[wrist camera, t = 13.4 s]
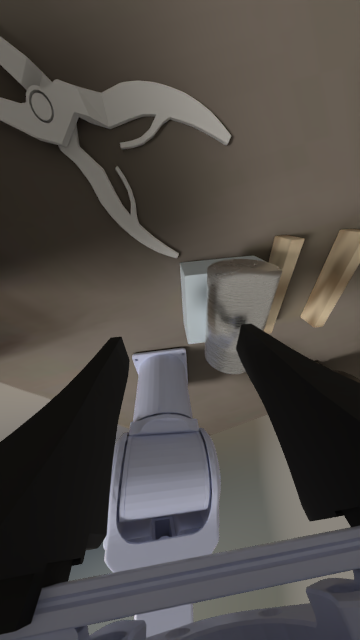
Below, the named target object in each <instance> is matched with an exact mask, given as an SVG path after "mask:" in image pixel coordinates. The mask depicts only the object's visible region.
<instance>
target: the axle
mask: <svg viewBox="0 0 360 640" xmlns="http://www.w3.org/2000/svg"><path fill="white" fill-rule="evenodd" d="M281 274H282V270H281V269H280V268H279V267H278V266H276V265H274V264H272V263H269V262H265V261H260V260H252V259H230V260H223V261H219V262H215V263H213V264H211V265H210V266H209V267H208V269H207V295H206V326H205V357H206V360H207V361H208V363H209V364H210V365H211V366H212V367H213V368H215V369H216V370H218V371H220V372H223V373H227V374H241V373H244V372H246V371H245V369H244V367H243V365H242V363H241V361H240V358H239V356H238V353H237V350H236V346H237V341H238V337H239V332H240V328H241V324H250V323H251V324H253V325H255V326H256V327H258V328H259V329H261V330H263V331H264V329H265V325H266V322H267V319H268V316H269V313H270V310H271V306H272V303H273V300H274V297H275V294H276V290H277V287H278V284H279V281H280V278H281Z"/></svg>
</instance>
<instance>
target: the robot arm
mask: <svg viewBox="0 0 360 640" xmlns="http://www.w3.org/2000/svg"><path fill="white" fill-rule="evenodd" d="M236 350H237V353H238V356H239V358H240V361H241V363H242V365H243V367H244V369H245V371H246V372H247V374H248V376H249V378H250V380H251V382H252V383H253V385H254V387H255V389H256V391H257V392H258V394H259V396H260V398H261V400H262V402H263V404H264V406H265V408H266V411H267V413H268V415H269V417H270V420H271V422H272V425H273V427H274V430H275V432H276V435H277V437H278V440H279V442H280V445H281V447H282V450H283V453H284V455H285V458H286V461H287V463H288V466H289V469H290V472H291V475H292V478H293V481H294V484H295V487H296V489H297V492H298V495H299V499H300V502H301V505H302V507H303V509H304V511H305V513H306V515H307V517H308V519H309V521H315V520H321V519H327V518H332V517H338V516H343V515H344V516H345V518H346V519H347V521H348V523H349V524H350V526H351V527H350V528H345V529H340V530H335V531H329V532H325V533H319V534H314V535H308V536H303V537H298V538H293V539H287V540H282V541H277V542H272V543H267V544H261V545H256V546H252V547H246V548H240V549H235V550H230V551H225V552H219V553H214V554H212V552H213V550H214V548H215V547H216V545H217V544H218V541H219V526H220V525H219V498H220V492H221V479H220V469H219V463H218V458H217V453H216V450H215V446H214V444H213V441H212V439H211V437H210V436H209V435H208V433H207V432H206V431H205V430H204V429H203V428H199V426H198V421H197V419H193V417H192V410H191V404H190V398H189V391H188V374H187V359H186V349H185V348H177V349H169V350H161V351H153V352H145V353H137V354H133V355H132V359H133V362H134V364H135V367H136V370H137V373H138V375H139V377H138V385H137V393H136V402H135V410H134V418H133V422H131V423H130V431H129V433H128V432H127V433H123V434H122V435H121V437H120V438H119V439H118V440H117V442H116V444H115V439H116V431H117V424H118V419H119V414H120V409H121V405H122V401H123V396H124V392H125V387H126V383H127V378H128V371H129V357H128V355H127V352H126V349H125V346H124V343H123V340H122V337H114V338H110V339H109V340H108V341H107V343H106V344H105V345H104V346H103V347H102V348H101V349H100V351H99V352H98V353H97V354H96V355H95V356H94V358H93V359H92V360H91V361H90V362H89V363H88V364H87V365H86V366H85V368H84V369H83V370H82V371H81V372H80V373H79V374H78V375H77V376H76V377H75V378H74V379H73V380H72V381H71V382H70V383H69V384H68V385H67V386H66V387H65V388H64V389H63V390H62V391H61V392H60V393H59V394H58V395H57V396H55V397H54V398H53V399H52V400H51V401H50V402H49V403H48V404H47V405H45V406H44V407H43V408H42V409H41V410H40V411H38V412H37V413H36V414H35V415H34V416H32V417H31V418H30V419H29V420H27V421H26V422H25V423H24V424H23V425H21V426H20V427H19V428H18V429H16V430H15V431H14V432H13V433H12V434H10V435H9V436H8V437H6V438H5V439H4V440H2V441H1V442H0V640H360V383H359V382H357V381H354V380H352V379H350V378H347V377H345V376H343V375H341V374H339V373H337V372H334V371H332V370H330V369H328V368H326V367H324V366H322V365H320V364H318V363H316V362H314V361H313V360H311V359H309V358H307V357H305V356H303V355H302V354H300V353H298V352H296V351H295V350H293V349H291V348H290V347H288V346H286V345H285V344H283V343H281V342H280V341H278V340H277V339H275V338H273V337H272V336H270V335H269V334H267V333H266V332H264V331H263V330H261V329H259V328H258V327H256V326H255V325H253V324H251V323H250V324H241V328H240V332H239V337H238V341H237V346H236ZM103 540H104V542H103ZM102 542H103V547H104V550H105V558H104V560H105V563H106V565H107V566H108V567H109V569H110V570H111V571H112V572H113V573H109V574H104V575H99V576H94V577H88V578H83V579H78V580H73V581H68V579H69V575H70V571H71V566H74V565H79V564H82V563H83V560H84V555H85V551H86V550H91V549H96V548H98V547H99V546H100V545H101V543H102ZM350 570H353V573H354V580H351V579H343V578H328V579H323V580H320V581H318V582H316V583H314V584H312V585H310V586H308V587H307V588H306V593H307V595H308V598H309V601H310V603H309V604H299V605H290V606H282V607H273V608H265V609H255V610H248V611H241V612H235V613H230V614H225V615H220V616H215V617H211V618H208V619H204V620H200V621H197V622H193V603H197V602H201V601H206V600H211V599H216V598H220V597H225V596H230V595H235V594H240V593H244V592H249V591H254V590H259V589H264V588H268V587H273V586H277V585H283V584H287V583H292V582H297V581H301V580H307V579H312V578H316V577H321V576H326V575H330V574H336V573H340V572H345V571H350ZM129 616H134V620H120V621H116V622H113V623H110V624H108V625H106V626H104V627H102V628H101V629H99V630H97V631H96V632H94V633H93V634H91V635H90V636H89V633H88V626H87V625H91V624H96V623H101V622H105V621H110V620H115V619H120V618H125V617H129Z"/></svg>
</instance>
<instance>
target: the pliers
mask: <svg viewBox="0 0 360 640" xmlns="http://www.w3.org/2000/svg"><path fill="white" fill-rule="evenodd" d="M0 65H1V66H2V67H3V68H4V69H5V70H7V71H8V72H9V73H10V74H11V75H12V76H13V77H14V78H15V79H16V80H17V81H18V82H19V83H20V84H21V85H22V86H23V87H24V88H25V89H26V90H27V92H26V102H25V103H18V102H14V101H11V100H8V99H4V98H1V97H0V121H2V122H4V123H6V124H8V125H10V126H12V127H14V128H16V129H18V130H20V131H22V132H24V133H26V134H28V135H30V136H32V137H34V138H36V139H38V140H40V141H44V142H48V143H52V144H56V145H58V146H59V148H60V150H61V151H62V152H63V153H64V154H65V155H66V156H68V157H69V158H70V159H71V160H72V161H73V162H75V163H76V164H77V166H78V167H79V168H80V170H81V171H82V172H83V174H84V175H85V176H86V178H87V179H88V180H89V182H90V184H91V185H92V187H93V189H94V191H95V193H96V195H97V197H98V199H99V200H100V202H101V204H102V205H103V206H104V208H105V209H106V210H107V212H108V213H109V214H110V216H111V217H112V218H113V219H114V220H115V221H116V222H117V223H118V224H119V225H120V226H121V227H122V228H123V229H124V230H125V231H126V232H128V233H129V234H130V235H131V236H132V237H134V238H135V239H136V240H138V241H139V242H140V243H142V244H144V245H145V246H147V247H148V248H150V249H152V250H154V251H156V252H158V253H161V254H164V255H167V256H170V257H174V258H177V257H178V255H179V253H178V252H176V251H174V250H173V249H171V248H170V247H168V246H167V245H165V244H164V243H162V242H161V241H159V240H158V239H157V238H155V237H154V236H153V235H152V234H150V233H149V232H148V231H147V230H146V229H145V228H144V227H142V226H141V225H140V224H139V221H138V218H137V210H136V203H135V199H134V196H133V192H132V190H131V188H130V186H129V184H128V182H127V180H126V178H125V176H124V175H123V173H122V172H121V170H120V169H119V167H118V166H117V167H116V168H115V169H116V171H117V172H118V174H119V176H120V177H121V179H122V181H123V183H124V185H125V187H126V189H127V191H128V194H129V198H130V202H131V215H130V213H129V212H128V211H127V210H126V208H125V207H124V206H123V204H122V203H121V201H120V199H119V197H118V195H117V194H116V192H115V190H114V188H113V186H112V184H111V182H110V180H109V178H108V176H107V174H106V172H105V170H104V169H103V168H102V167H101V166H100V165H99V164H98V163H97V162H96V161H95V160H94V159H92V158H91V157H90V156H89V155H88V154H87V153H86V152H85V151H84V150H83V149H82V148H81V147H80V145H79V138H78V131H77V124H76V123H77V121H78V118H79V117H80V118H82V119H83V120H85V121H87V122H89V123H91V124H95V125H98V126H101V127H104V128H108V129H112V128H115V127H117V126H120V125H122V124H124V123H127V122H129V121H132V120H135V119H138V118H141V117H155V119H154V121H153V123H152V125H151V127H150V129H149V130H148V131H147V132H146V133H145V134H144V135H143V136H141V137H140V138H138V139H135V140H132V141H128V142H121V143H120V146H121V149H130V148H135V147H138V146H141V145H144V144H145V143H146V142H147V141H149V140H150V139H151V138H153V137H154V135H155V134H156V133H157V131H158V130H159V129H160V127H161V126H162V125H163V124H164V123H166V122H167V121H168V120H173V121H176V122H180V123H183V124H186V125H188V126H191V127H194V128H196V129H198V130H200V131H201V132H203V133H205V134H207V135H209V136H211V137H213V138H214V139H216V140H218V141H219V142H221V143H222V144H224V145H225V146H226V145H227V144H228V142H229V140H230V137H231V135H230V133H229V132H228V131H227V130H226V128H225V127H224V126H223V124H222V123H221V122H220V121H219V120H218V119H217V118H216V117H215V115H214V114H213V113H212V112H211V111H210V110H208V109H207V108H206V107H205V106H204V105H202V104H201V103H200V102H199V101H197V100H195V99H194V98H192V97H191V96H189V95H187V94H186V93H184V92H182V91H179V90H177V89H175V88H172V87H170V86H166V85H163V84H159V83H156V82H149V81H140V80H136V81H128V82H121V83H119V84H117V85H115V86H113V87H111V88H109V89H107V90H106V91H104V92H102V93H100V92H96V91H93V90H89V89H85V88H81V87H78V86H75V85H72V84H69V83H66V82H64V81H61V80H58V79H56V80H54V81H53V82H52V81H51V80H50V79H49V78H48V77H47V76H46V75H45V74H44V73H43V72H42V71H41V70H40V69H39V68H38V67H37V66H36V65H35V64H34V63H33V62H32V61H31V60H30V59H29V58H28V57H26V56H25V55H24V54H23V53H21V52H20V51H19V50H17V49H16V48H15V47H13V46H12V45H11V44H10V43H8V42H7V41H6V40H4V39H3V38H2V37H0Z"/></svg>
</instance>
